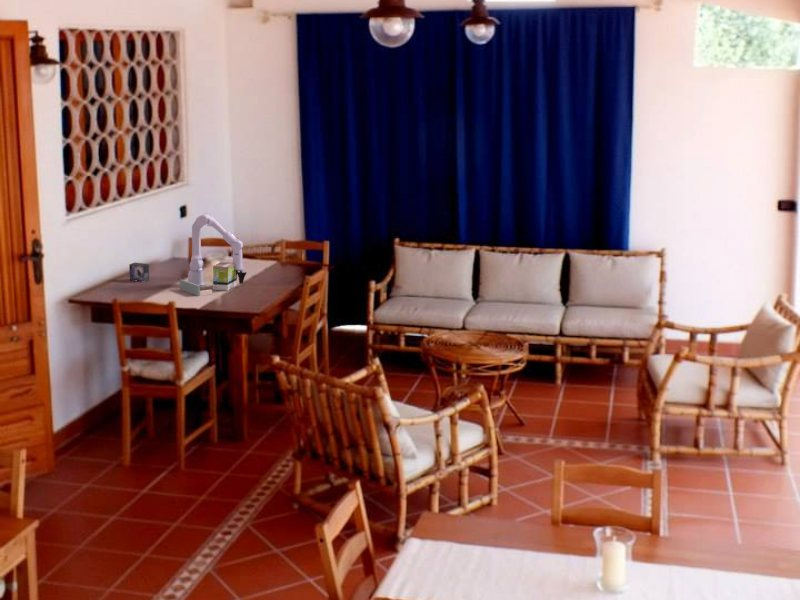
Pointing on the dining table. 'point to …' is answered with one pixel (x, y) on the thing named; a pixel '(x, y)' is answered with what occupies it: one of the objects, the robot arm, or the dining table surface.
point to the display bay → (193, 288)
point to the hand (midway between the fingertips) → (237, 282)
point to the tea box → (224, 276)
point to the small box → (139, 271)
